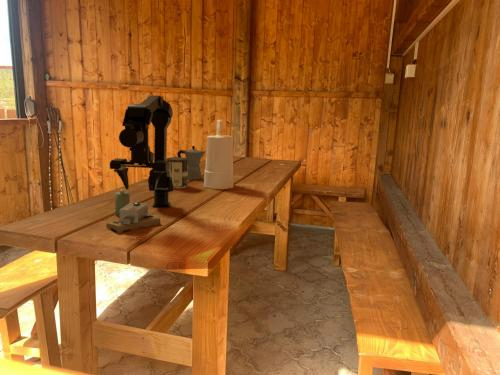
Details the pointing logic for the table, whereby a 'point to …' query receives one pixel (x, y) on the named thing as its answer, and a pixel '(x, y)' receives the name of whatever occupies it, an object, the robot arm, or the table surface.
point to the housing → (133, 212)
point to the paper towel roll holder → (219, 161)
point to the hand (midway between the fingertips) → (140, 190)
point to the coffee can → (178, 171)
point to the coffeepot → (192, 162)
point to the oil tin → (121, 200)
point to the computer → (133, 224)
